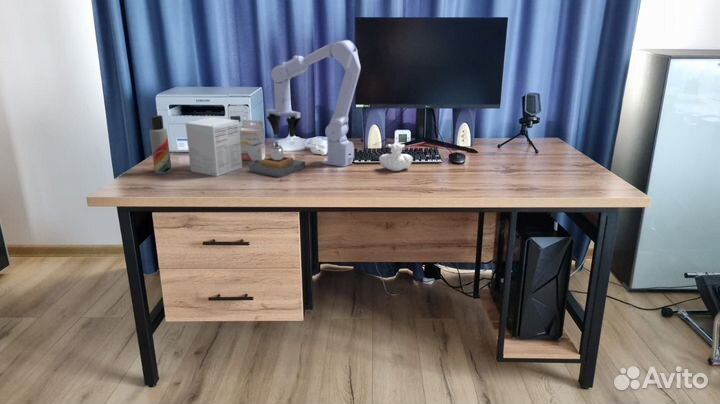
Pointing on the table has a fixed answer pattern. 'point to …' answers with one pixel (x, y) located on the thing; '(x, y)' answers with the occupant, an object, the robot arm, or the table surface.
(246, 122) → the ink cartridge box
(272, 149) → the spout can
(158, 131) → the lotion bottle
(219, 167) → the supplement box
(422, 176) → the table surface
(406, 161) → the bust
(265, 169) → the gray plate with frame
